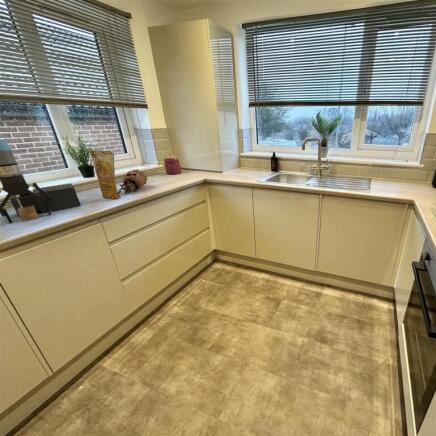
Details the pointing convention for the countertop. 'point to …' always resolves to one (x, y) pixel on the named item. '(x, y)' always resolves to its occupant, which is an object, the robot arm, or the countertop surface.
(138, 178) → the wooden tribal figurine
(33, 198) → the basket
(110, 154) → the pancake mix bag
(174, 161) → the kitchen canister
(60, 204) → the dark grey slanted block
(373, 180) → the countertop surface
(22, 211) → the block
